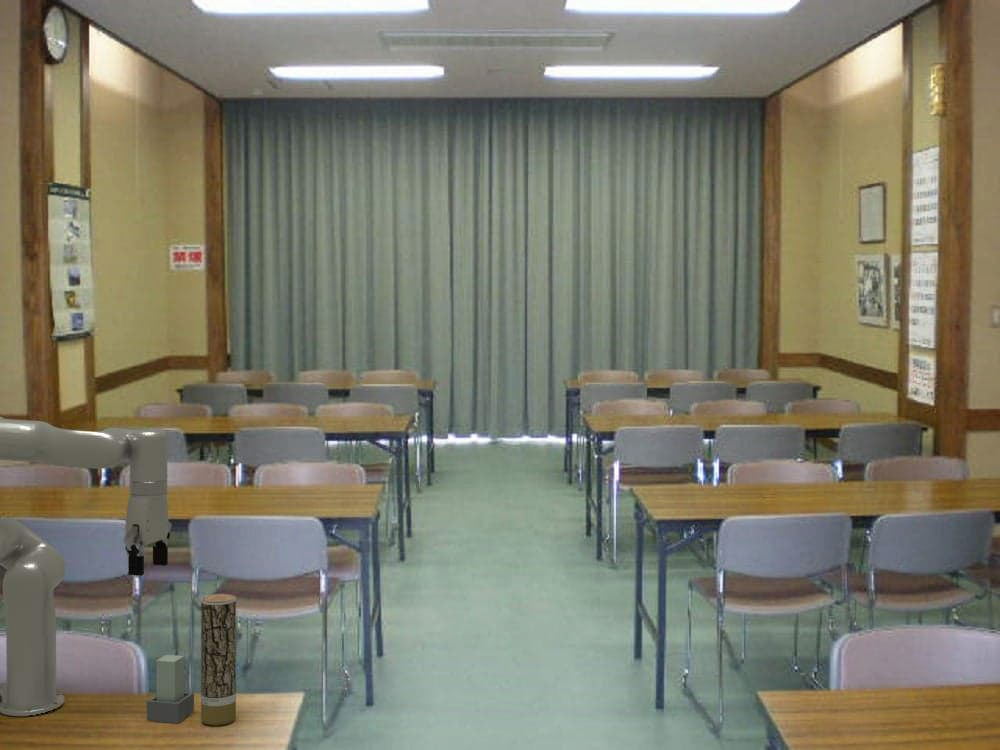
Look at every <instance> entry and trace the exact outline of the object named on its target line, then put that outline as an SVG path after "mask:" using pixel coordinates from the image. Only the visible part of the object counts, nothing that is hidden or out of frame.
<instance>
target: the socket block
mask: <svg viewBox="0 0 1000 750" xmlns="http://www.w3.org/2000/svg"><path fill="white" fill-rule="evenodd" d="M193 711H194V712H195V693H194V692H189V691H184V698H182V699H181V700H179V701H178V702H177V703H176V702H164V701H156V695H154V696H152V697H151V698H149V699H148V700H146V721H147V720H149V721H148V722H154V721H159V722H158V723H164V722H167V724H175V725H176V724H177V725H178V724H180V723H181V722H183V721H184V720H185V719H186V718H185V717H187V716H188V715H189V714H191V713H192V712H193ZM194 712H193V713H194ZM193 713H192V714H193ZM192 714H191V715H192ZM189 716H190V715H189ZM189 716H188V717H189ZM188 717H187V718H188ZM183 719H184V720H183ZM179 722H180V723H179Z"/></svg>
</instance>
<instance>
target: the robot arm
mask: <svg viewBox="0 0 1000 750" xmlns="http://www.w3.org/2000/svg"><path fill="white" fill-rule="evenodd" d="M0 461H10V462H11V461H12V462H13V461H14V462H27V463H37V464H42V465H52V466H60V467H67V468H80V469H81V468H83V469H85V468H86V469H94V470H97V469H99V470H100V469H103V470H104V469H109V468H112V467H114V466H116V465H118V464H121V463H124V462H129V497H128V503H127V508H126V515H125V517H126V518H125V532H124V538H123V543H124V545H125V551H126V555H127V557H128V558H127V559H128V560H127V561H128V565H127V566H128V575H130V576H137V577H138V576H140V577H141V576H144V574H145V556H144V555H143V553H144V551H145V548H146V546H149V545H151V544H153V546H152V565H154V566H164V567H165V566H167V565H168V564H169V563H168V562H169V560H168V559H169V558H168V557H169V552H168V551H169V550H168V549H169V548H168V546H169V544H170V541H169V539H170V537H171V529H172V522H170V521H169V508H168V505H169V504H168V498H167V496H168V435H167V433H166V431H165V430H162V429H156V428H155V429H154V428H145V429H144V428H142V429H141V428H140V429H130V428H123V427H122V428H121V427H107V428H105V429H102V430H100V431H89V430H75V429H74V430H73V429H67V428H60V427H56V426H53V425H51V424H50V423H48V422H46V421H43V420H42V421H41V420H29V419H28V420H27V419H25V420H24V419H12V418H11V419H10V418H4V417H2V416H1V415H0ZM0 566H2V567H3V568H4V569H5V570H6V571H5V574H4V576H3V581H2V595H3V601H4V609H5V611H4V612H5V635H6V638H5V641H6V644H5V645H6V650H5V651H6V654H5V655H6V656H5V658H6V659H5V660H6V683H5V682H4V683H3V682H0V696H1V701H0V713H1V714H2V715H5V716H9V717H10V716H11V717H30V716H29V715H33V716H37V715H36V714H39V715H41V714H40V713H44V714H46V713H45V712H47V711H50V710H53V709H55V708H57V707H58V706H60V705H61V704H62V703H63V702H64V703H65V696H64V695H63V694H62V693H60V692H57V619H56V618H57V613H56V606H55V605H56V604H55V599H54V598H55V597H54V590H55V588H56V587H57V586H59V584H60V583H61V582H62V580H63V579H64V577H65V575H66V567H67V566H66V562H65V559H64V557H63V556H62V554H61V553H60V552H59V551H58V550H57V549H56V548H55V547H54V546H52V545H51V544H50V543H48V542H47V541H45V540H44V539H43V538H41V537H40V536H39V535H37V534H36V533H35V532H33V531H32V530H31V529H30V528H28V527H27V526H25V525H24V524H23V523H21V522H20V521H18V520H16V519H14V518H11V517H9V516H5V515H4V516H3V515H2V516H0Z"/></svg>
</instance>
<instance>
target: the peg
mask: <svg viewBox="0 0 1000 750" xmlns="http://www.w3.org/2000/svg"><path fill="white" fill-rule="evenodd" d="M155 663H156V665H155V666H156V667H155V668H156V673H155V674H156V675H155V676H156V678H155V679H156V680H155V681H156V686H155V687H156V692H155V693H156V694H155V696H156V701H164V702H176V703H177V702H178V701H179V700H181V699H182V698H184V692H185V656H184V655H176V654H175V655H173V654H165V655H163V656H161V657H160V658H159V659H158V658H157V659H156V661H155Z"/></svg>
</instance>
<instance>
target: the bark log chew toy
mask: <svg viewBox="0 0 1000 750" xmlns="http://www.w3.org/2000/svg"><path fill="white" fill-rule="evenodd" d="M200 607H201V609H200V618H201V619H200V629H201V630H200V633H201V634H200V643H201V644H200V650H201V651H200V656H201V658H200V663H201V664H200V689H201V690H200V692H201V693H200V703H201V705H200V706H201V708H200V709H201V711H200V713H201V714H200V718H201V721H202V723H203V724H205V725H207V726H214V727H215V726H218V727H219V726H223V725H228V724H231V723H233V722H234V721H235V720H236V716H237V598H236V596H235V595H234V594H229V593H215V594H208V595H205V596H202V597H201V602H200Z"/></svg>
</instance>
